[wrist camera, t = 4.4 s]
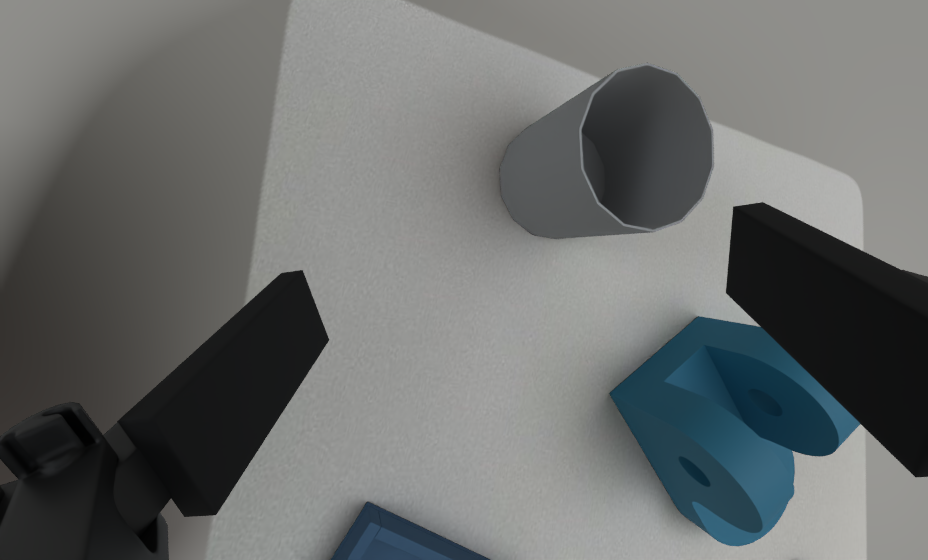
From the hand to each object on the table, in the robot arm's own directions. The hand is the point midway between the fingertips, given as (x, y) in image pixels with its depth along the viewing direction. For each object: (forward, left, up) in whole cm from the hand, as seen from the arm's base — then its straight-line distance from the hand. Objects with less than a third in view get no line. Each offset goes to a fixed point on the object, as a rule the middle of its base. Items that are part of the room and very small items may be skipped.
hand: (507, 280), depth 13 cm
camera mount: (+29, +2, -16) cm, 33 cm away
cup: (+5, +11, -16) cm, 20 cm away
